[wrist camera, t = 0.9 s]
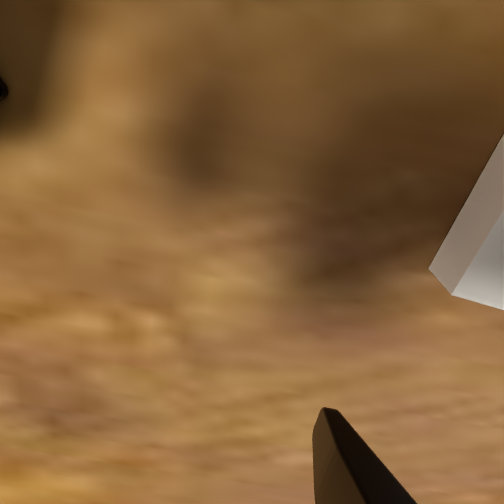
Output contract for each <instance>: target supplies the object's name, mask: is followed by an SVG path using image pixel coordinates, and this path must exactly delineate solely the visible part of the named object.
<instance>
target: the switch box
mask: <svg viewBox="0 0 504 504" xmlns="http://www.w3.org/2000/svg"><path fill="white" fill-rule="evenodd" d="M428 269H429V270H430V271H431V272H432V273H433V275H434V276H435V277H436V278H437V279H438V280H439V281H440V283H441V284H442V285H443V286H444V287H445V288H446V289H447V291H448V292H449V293H450V294H451V295H453V296H457V297H460V298H464V299H467V300H471V301H474V302H478V303H481V304H485V305H488V306H491V307H495V308H498V309H502V310H504V134H503V136H502V138H501V139H500V141H499V143H498V145H497V147H496V148H495V150H494V152H493V154H492V156H491V157H490V159H489V161H488V163H487V164H486V166H485V168H484V170H483V172H482V173H481V175H480V177H479V179H478V181H477V182H476V184H475V186H474V188H473V189H472V191H471V193H470V195H469V197H468V198H467V200H466V202H465V204H464V206H463V207H462V209H461V211H460V213H459V214H458V216H457V218H456V220H455V222H454V223H453V225H452V227H451V229H450V231H449V232H448V234H447V236H446V238H445V239H444V241H443V243H442V245H441V247H440V248H439V250H438V252H437V254H436V256H435V257H434V259H433V261H432V263H431V264H430V266H429V268H428Z"/></svg>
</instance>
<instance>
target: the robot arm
mask: <svg viewBox="0 0 504 504" xmlns="http://www.w3.org/2000/svg"><path fill="white" fill-rule="evenodd" d="M7 95H8V89H7V86H6V85H5V83H4V82H3V80H2V79H1V78H0V102H1V101H2V100H4V99H5V98H6V97H7ZM312 442H313V470H314V494H315V504H417V503H416V502H415V500H414V499H413V498H412V497H411V496H410V494H409V493H408V492H407V491H406V490H405V489H404V487H403V486H402V485H401V484H400V483H399V482H398V480H397V479H396V478H395V477H394V476H393V474H392V473H391V472H390V471H389V470H388V469H387V467H386V466H385V465H384V464H383V463H382V461H381V460H380V459H379V458H378V457H377V456H376V454H375V453H374V452H373V451H372V450H371V449H370V447H369V446H368V445H367V444H366V443H365V441H364V440H363V439H362V438H361V437H360V436H359V434H358V433H357V432H356V431H355V430H354V428H353V427H352V426H351V425H350V424H349V423H348V421H347V420H346V419H345V418H344V417H343V416H342V414H341V413H340V412H339V411H338V410H336V409H331V408H326V407H323V408H322V409H321V410H320V413H319V415H318V418H317V421H316V423H315V426H314V429H313V437H312Z"/></svg>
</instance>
